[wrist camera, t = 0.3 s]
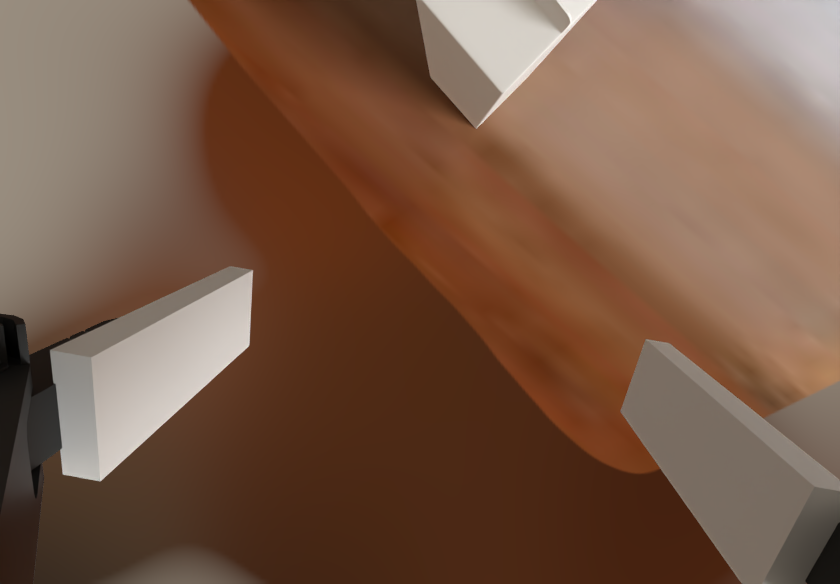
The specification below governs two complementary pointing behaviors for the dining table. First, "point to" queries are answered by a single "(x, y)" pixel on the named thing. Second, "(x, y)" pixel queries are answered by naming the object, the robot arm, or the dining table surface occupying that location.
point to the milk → (491, 46)
